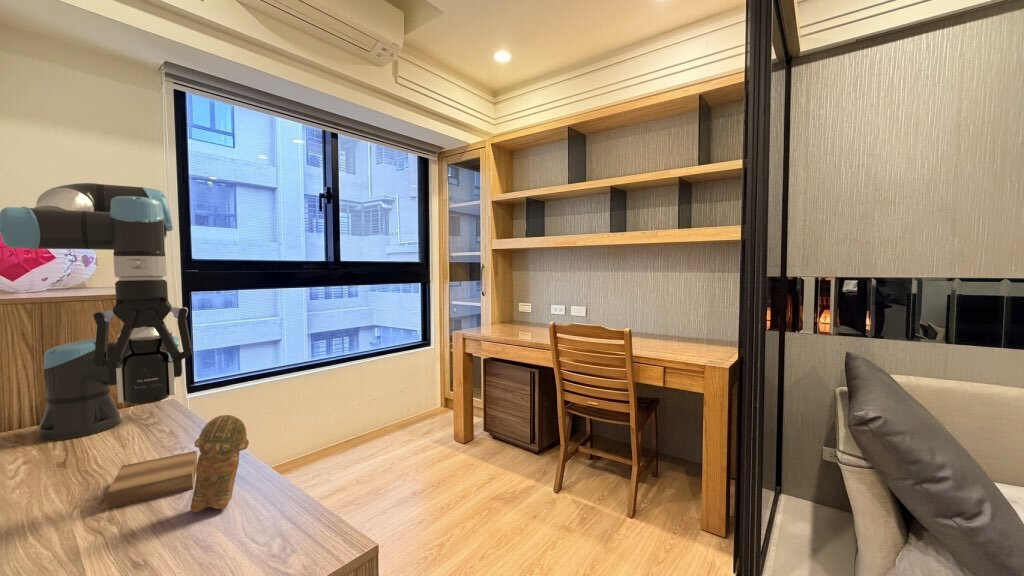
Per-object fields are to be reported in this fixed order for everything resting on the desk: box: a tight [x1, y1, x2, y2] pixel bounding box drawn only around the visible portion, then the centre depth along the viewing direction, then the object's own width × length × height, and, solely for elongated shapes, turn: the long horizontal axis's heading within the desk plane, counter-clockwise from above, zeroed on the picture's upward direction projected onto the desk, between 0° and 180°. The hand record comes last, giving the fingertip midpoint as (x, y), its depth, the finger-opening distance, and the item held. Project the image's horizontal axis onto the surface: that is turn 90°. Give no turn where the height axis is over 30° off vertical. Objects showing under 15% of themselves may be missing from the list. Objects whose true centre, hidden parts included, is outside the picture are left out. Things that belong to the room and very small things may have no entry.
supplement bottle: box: [123, 337, 171, 405], centre depth 81 cm, size 7×7×12 cm
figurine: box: [190, 414, 250, 513], centre depth 76 cm, size 8×8×15 cm
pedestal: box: [106, 450, 198, 510], centre depth 83 cm, size 12×12×3 cm
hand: (148, 396), depth 82 cm, fingers closed on supplement bottle, 7 cm apart
